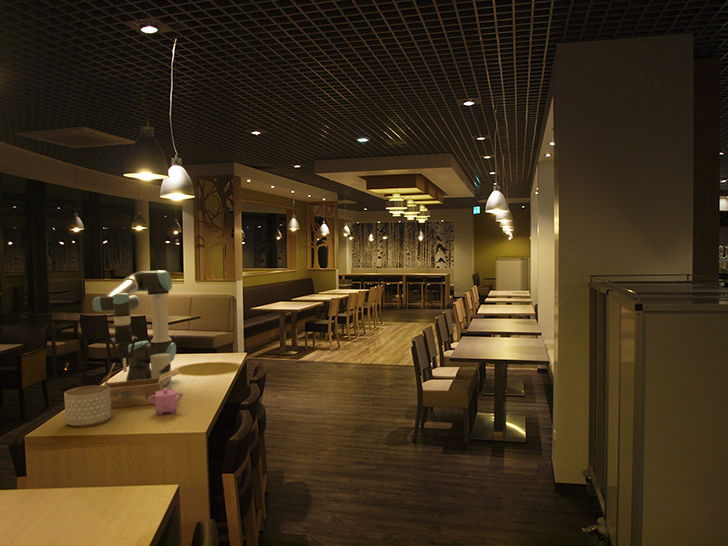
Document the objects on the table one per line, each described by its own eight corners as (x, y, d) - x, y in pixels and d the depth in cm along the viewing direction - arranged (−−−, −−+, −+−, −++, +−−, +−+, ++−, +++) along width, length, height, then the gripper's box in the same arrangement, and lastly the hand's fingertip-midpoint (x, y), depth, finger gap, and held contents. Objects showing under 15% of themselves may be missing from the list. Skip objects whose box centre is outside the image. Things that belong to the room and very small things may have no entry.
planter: (64, 430, 249) (62, 397, 248) (67, 419, 266) (65, 388, 265) (111, 424, 256) (109, 392, 255) (111, 413, 273) (110, 383, 272)
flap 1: (106, 381, 292) (114, 362, 293) (107, 381, 292) (115, 362, 293) (103, 386, 281) (111, 367, 282) (104, 386, 281) (112, 367, 282)
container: (165, 394, 307) (163, 356, 306) (148, 393, 309) (146, 356, 308) (175, 389, 317) (173, 353, 316) (158, 389, 319) (156, 353, 318)
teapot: (188, 410, 274) (187, 387, 273) (165, 418, 262) (164, 394, 262) (167, 406, 282) (165, 384, 281) (143, 414, 270) (142, 391, 270)
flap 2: (159, 376, 300) (178, 368, 303) (160, 377, 300) (179, 368, 303) (159, 381, 288) (178, 372, 291) (159, 381, 288) (179, 373, 291)
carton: (107, 402, 294) (106, 382, 294) (161, 396, 302) (160, 377, 302) (103, 410, 279) (102, 389, 279) (160, 403, 287) (159, 384, 287)
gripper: (107, 326, 282) (110, 374, 283) (136, 324, 286) (138, 371, 287) (109, 324, 290) (111, 371, 291) (137, 322, 294) (139, 368, 295)
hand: (125, 371), depth 289 cm, fingers closed
